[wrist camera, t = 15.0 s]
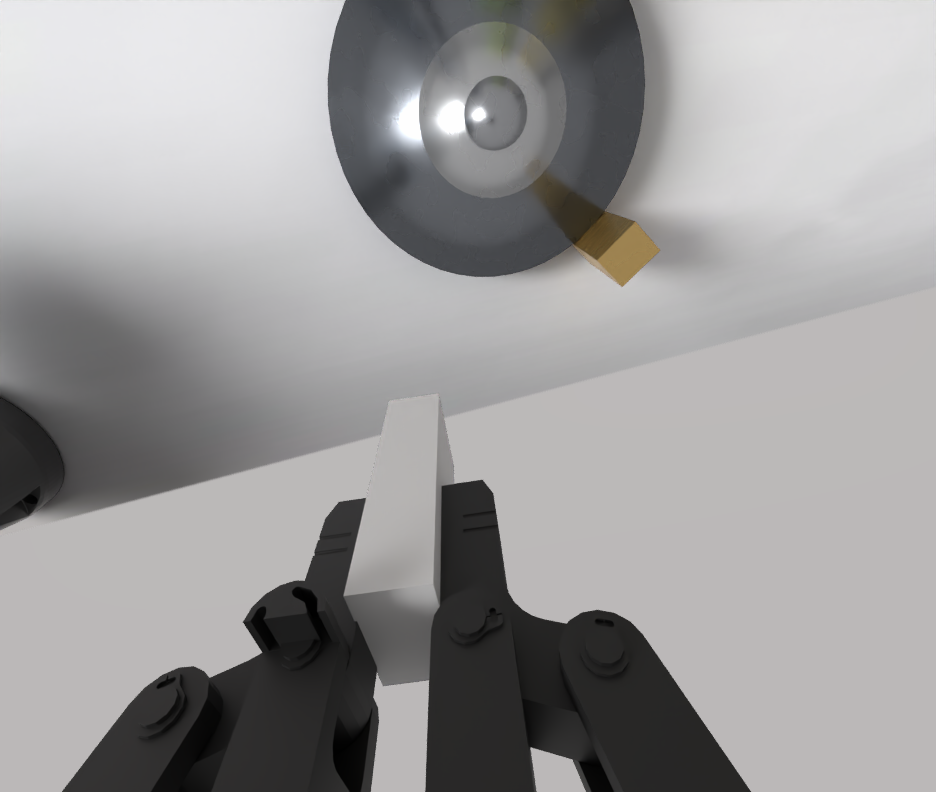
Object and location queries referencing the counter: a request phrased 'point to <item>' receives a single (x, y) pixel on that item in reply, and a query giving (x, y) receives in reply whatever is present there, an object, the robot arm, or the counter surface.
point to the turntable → (520, 214)
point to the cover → (492, 109)
